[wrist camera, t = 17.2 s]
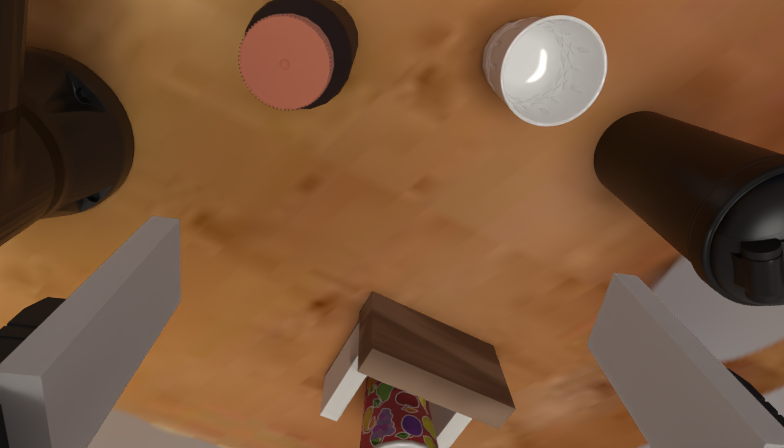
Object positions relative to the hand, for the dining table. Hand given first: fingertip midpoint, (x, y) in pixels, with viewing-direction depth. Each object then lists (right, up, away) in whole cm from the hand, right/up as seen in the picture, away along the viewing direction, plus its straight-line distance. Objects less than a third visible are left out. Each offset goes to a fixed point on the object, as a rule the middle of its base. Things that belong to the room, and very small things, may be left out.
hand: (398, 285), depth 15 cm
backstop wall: (+4, -10, +43) cm, 44 cm away
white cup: (+11, +17, +31) cm, 37 cm away
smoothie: (0, -16, +45) cm, 48 cm away
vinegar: (-7, +18, +30) cm, 36 cm away
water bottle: (+24, +9, +35) cm, 44 cm away
